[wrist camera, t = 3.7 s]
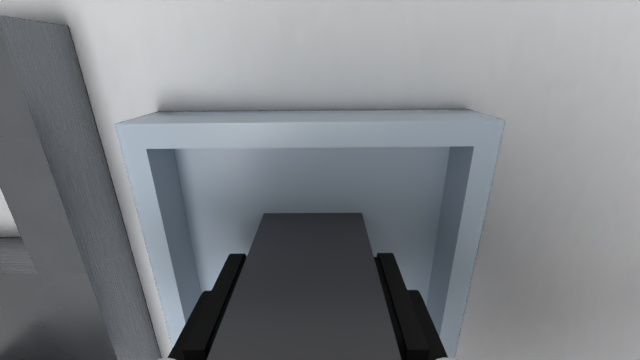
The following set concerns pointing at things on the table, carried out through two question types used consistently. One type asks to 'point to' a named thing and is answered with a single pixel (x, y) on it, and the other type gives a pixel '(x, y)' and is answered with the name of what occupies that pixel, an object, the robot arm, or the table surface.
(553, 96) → the table surface
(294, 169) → the plug tray
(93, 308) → the strip
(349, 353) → the plug
